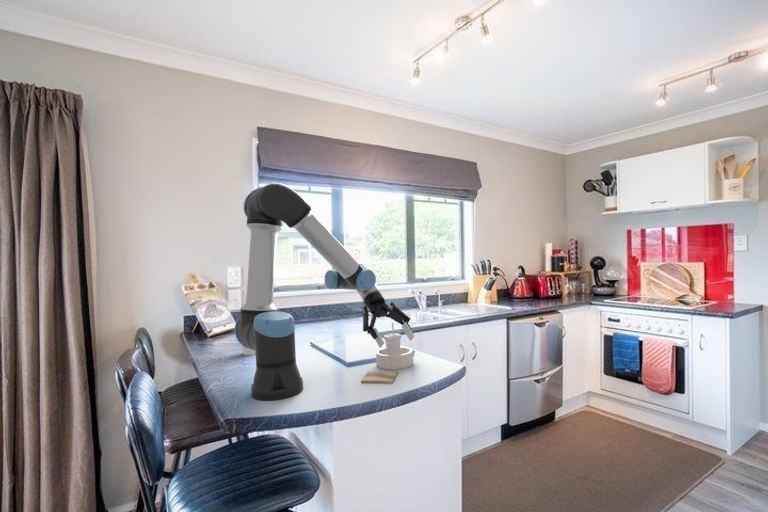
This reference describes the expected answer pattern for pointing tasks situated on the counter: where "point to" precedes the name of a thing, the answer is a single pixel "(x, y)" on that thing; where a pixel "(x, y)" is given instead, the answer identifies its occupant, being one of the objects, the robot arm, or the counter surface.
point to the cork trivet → (380, 377)
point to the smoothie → (393, 342)
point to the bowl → (394, 359)
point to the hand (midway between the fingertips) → (397, 341)
